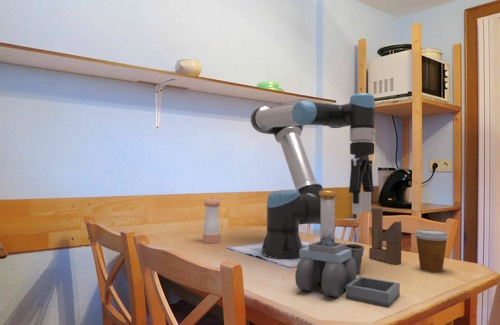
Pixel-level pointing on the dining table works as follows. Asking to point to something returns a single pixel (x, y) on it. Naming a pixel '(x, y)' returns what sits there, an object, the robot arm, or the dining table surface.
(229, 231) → the dining table surface
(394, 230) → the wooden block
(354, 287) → the tray
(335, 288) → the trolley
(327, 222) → the capped glass tube
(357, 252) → the dark grey cup
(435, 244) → the disposable coffee cup
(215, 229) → the salt shaker
